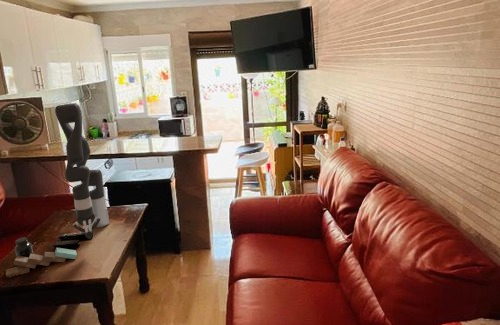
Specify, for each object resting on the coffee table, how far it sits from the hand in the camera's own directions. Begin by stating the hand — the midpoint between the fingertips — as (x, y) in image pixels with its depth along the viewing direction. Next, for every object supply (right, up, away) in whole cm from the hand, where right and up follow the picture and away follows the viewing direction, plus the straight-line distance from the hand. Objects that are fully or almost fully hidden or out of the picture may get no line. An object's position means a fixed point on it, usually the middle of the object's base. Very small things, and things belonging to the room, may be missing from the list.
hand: (89, 237), depth 180 cm
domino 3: (-16, -10, -7) cm, 20 cm away
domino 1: (-21, -10, -10) cm, 25 cm away
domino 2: (-23, -12, -11) cm, 28 cm away
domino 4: (-10, -9, -4) cm, 14 cm away
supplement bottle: (-28, -11, -5) cm, 31 cm away
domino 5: (-6, -8, -2) cm, 10 cm away
